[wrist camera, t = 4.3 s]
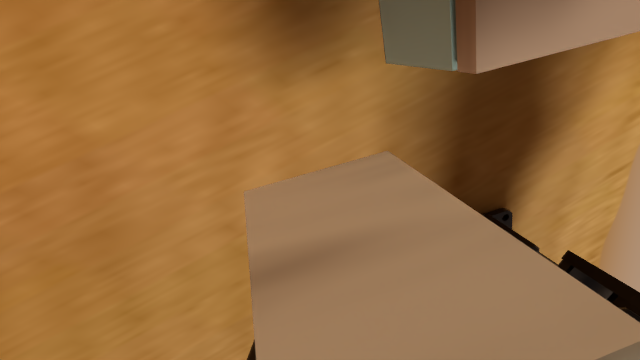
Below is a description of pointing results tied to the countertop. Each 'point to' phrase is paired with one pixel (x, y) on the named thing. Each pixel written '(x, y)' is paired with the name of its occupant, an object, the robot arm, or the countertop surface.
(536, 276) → the block
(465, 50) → the lid
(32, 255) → the countertop surface
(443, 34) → the grey tray
